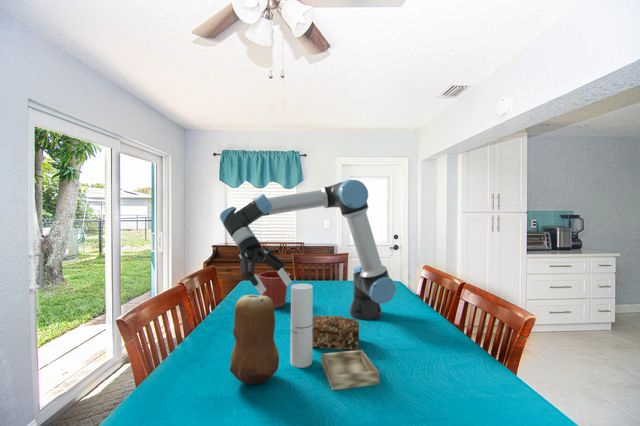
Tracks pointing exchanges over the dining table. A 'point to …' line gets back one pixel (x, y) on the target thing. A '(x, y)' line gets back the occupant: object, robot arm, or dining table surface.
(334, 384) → the holder tray
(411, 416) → the dining table surface
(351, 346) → the bread
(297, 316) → the cylindrical container
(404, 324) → the dining table surface
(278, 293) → the flower pot
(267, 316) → the butternut squash
